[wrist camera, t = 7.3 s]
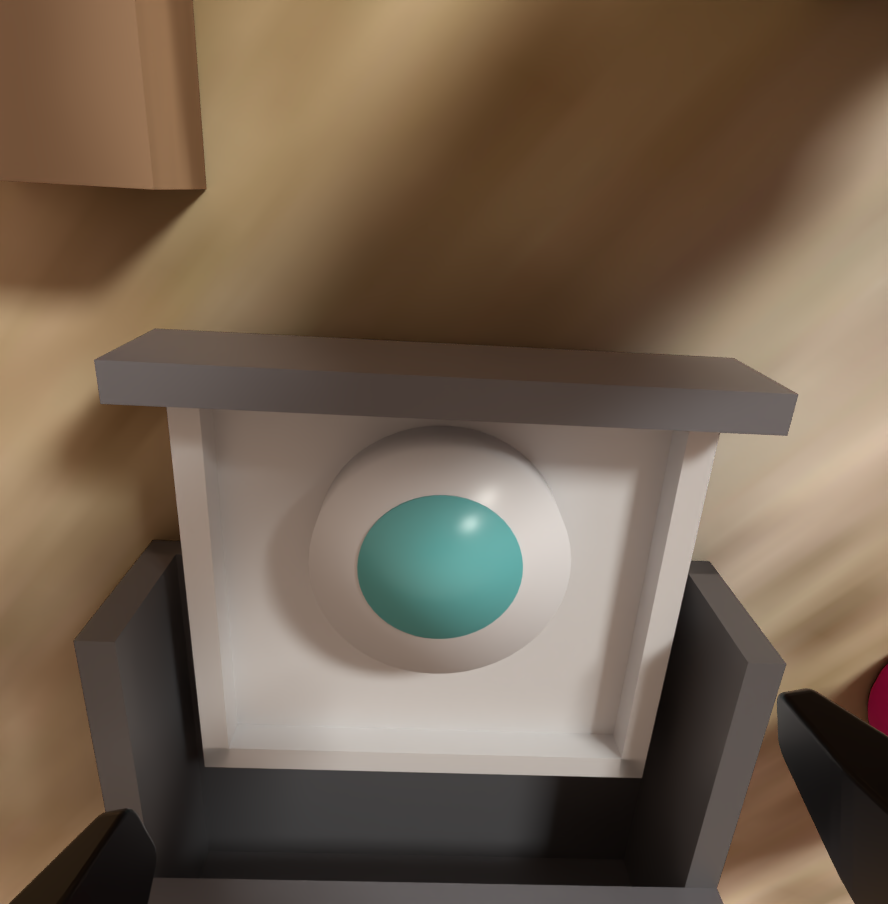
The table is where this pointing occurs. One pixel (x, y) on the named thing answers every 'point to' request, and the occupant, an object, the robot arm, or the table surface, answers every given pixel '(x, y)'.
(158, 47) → the block
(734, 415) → the tray
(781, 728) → the robot arm
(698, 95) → the table surface
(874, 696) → the pepper mill
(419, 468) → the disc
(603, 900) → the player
